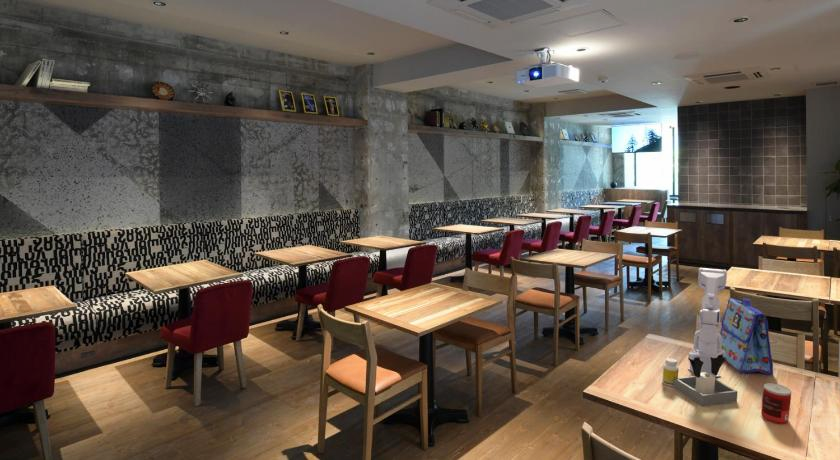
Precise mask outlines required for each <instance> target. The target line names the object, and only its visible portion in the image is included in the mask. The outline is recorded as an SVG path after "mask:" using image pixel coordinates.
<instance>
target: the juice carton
mask: <svg viewBox="0 0 840 460" xmlns="http://www.w3.org/2000/svg"><path fill="white" fill-rule="evenodd" d="M715 379H716V377H714V376H712V375H710V374H709V373H706V372H701V374H700V377H699V378H698V377H696V387H695V390H697V391H698V392H700V393H702V394H703V395H704V394H711V393H714V386H715Z"/></svg>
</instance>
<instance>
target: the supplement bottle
mask: <svg viewBox="0 0 840 460" xmlns="http://www.w3.org/2000/svg"><path fill="white" fill-rule="evenodd" d="M679 370H680V369H679V366H678V360H677V359H676V358H672V357H667V358H666V359H665V363H663V367H662V379H661V380H662V384H664V385H665V386H669V387H674V378H679Z"/></svg>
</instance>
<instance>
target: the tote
mask: <svg viewBox="0 0 840 460" xmlns="http://www.w3.org/2000/svg"><path fill="white" fill-rule="evenodd" d="M695 387H696V376H694V375H691V376H681V377H678V378H674V386H673V389H674V390H676V391H677V392H679V393H681V394H683V395H684V396H686V397H687V398H688V399H690V400H692V402H695V403H696V404H698V405H700V406H701V407H707V406H713V405H715V406H716V405H721V404H729V403H737V401H738V390H736V389H734V388H733V387H731V386H729V385H727V384H725V383H723V382H722V381H719V380H717V379H716V378H715V386H714V393H711V394H704V395H703V394H702V393H700V392H698V391H697V390H695Z"/></svg>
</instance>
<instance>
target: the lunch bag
mask: <svg viewBox="0 0 840 460" xmlns="http://www.w3.org/2000/svg"><path fill="white" fill-rule="evenodd" d="M765 315H766V314H764V313H763V312H762V311H760V310H759V309H758V308H757V309H756V308H754V307H753V306H752V305H751V299H748V298H742V299H741V300H738V299H735V298H732V297H729V298H728V300H727V305H726V308H725V310H724V314H723V316H722V319H721V322H720V326H721V328H720V333H719V334H720V335H721V337H722V350H724V351H726V356H723V357H725V358H726V361H725V362H727V363H729V364H730V366H732V367H733V368H734V369H735V370H736V371H738V372H739V373H740V374H742V375H743V374H746V373H755V372H759V373H762V374H766V375H770V376H772V375H774V369H773V368H774V363H773V362H774V361H773V357H772V352H771V342H770V337H769V323H768V320H767V318H766V316H765ZM718 342H719V341H718Z"/></svg>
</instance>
